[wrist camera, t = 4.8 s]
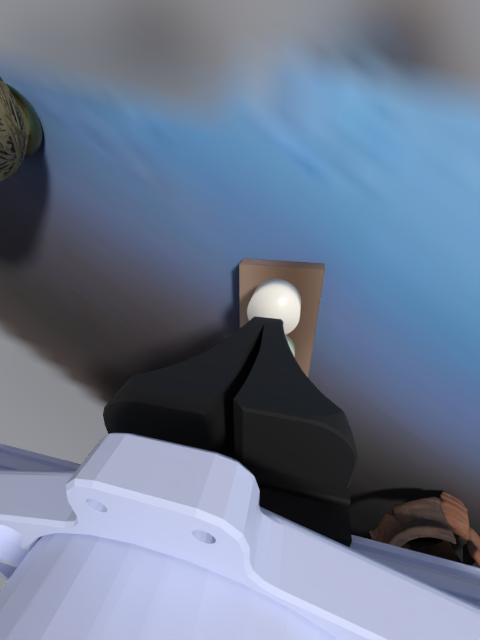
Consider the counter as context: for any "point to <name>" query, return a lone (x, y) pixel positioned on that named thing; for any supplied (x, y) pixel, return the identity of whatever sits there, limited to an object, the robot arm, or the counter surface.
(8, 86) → the cup
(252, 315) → the cream button
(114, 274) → the counter surface
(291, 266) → the button panel
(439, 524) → the pottery mug
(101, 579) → the robot arm
